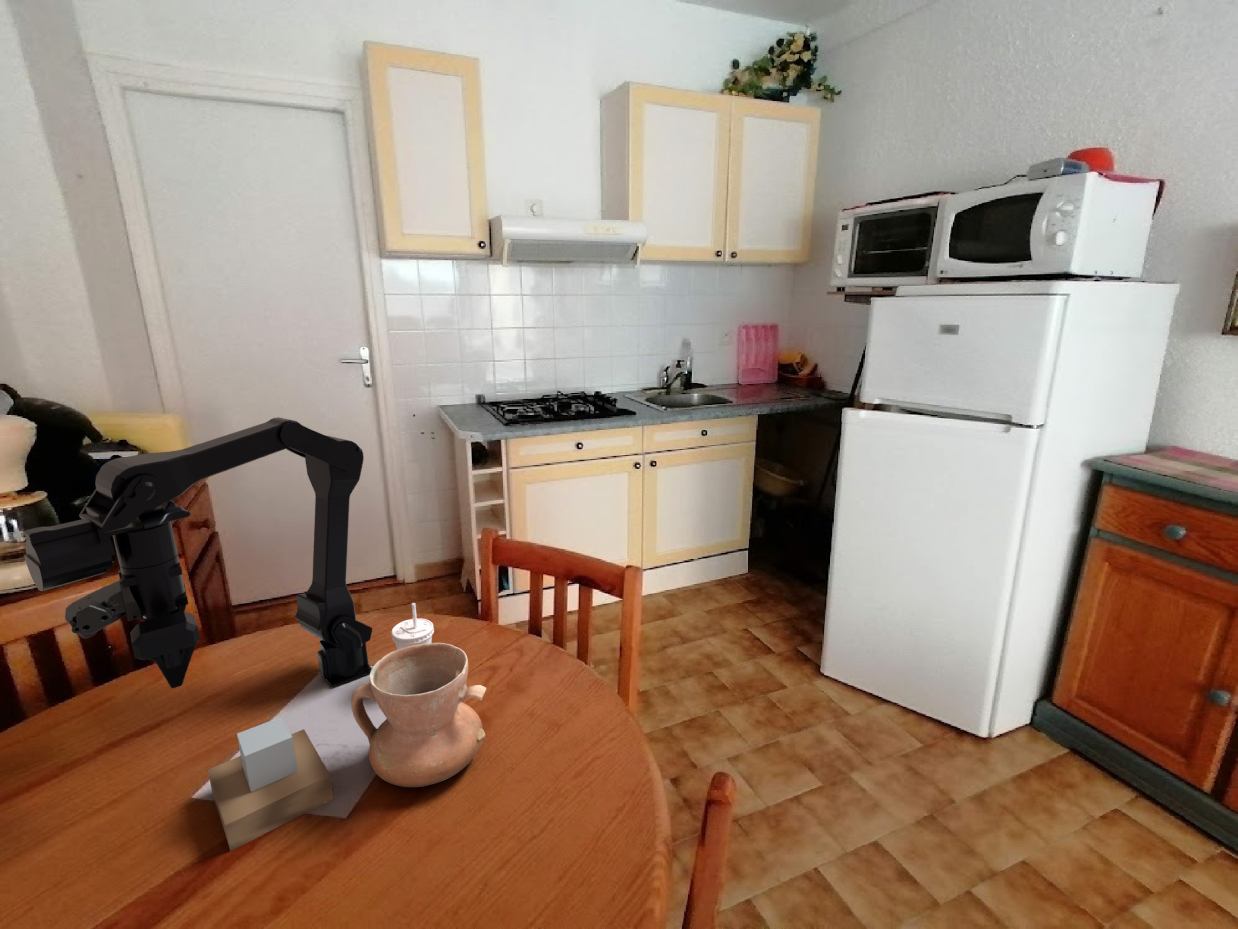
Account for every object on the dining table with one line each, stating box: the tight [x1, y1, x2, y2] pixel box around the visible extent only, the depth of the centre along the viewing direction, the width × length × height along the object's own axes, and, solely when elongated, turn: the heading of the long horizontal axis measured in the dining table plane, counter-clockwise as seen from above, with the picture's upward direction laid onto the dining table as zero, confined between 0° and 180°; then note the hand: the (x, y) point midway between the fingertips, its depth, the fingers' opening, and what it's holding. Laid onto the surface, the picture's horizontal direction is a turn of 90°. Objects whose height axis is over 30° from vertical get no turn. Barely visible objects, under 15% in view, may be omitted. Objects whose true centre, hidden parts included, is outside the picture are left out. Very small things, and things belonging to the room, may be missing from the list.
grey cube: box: [236, 716, 298, 792], centre depth 73 cm, size 5×5×5 cm
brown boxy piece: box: [207, 728, 335, 852], centre depth 74 cm, size 11×11×4 cm
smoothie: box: [391, 602, 435, 650], centre depth 95 cm, size 6×6×14 cm
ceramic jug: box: [350, 642, 487, 788], centre depth 79 cm, size 18×14×14 cm
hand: (173, 669), depth 78 cm, fingers open, 9 cm apart
